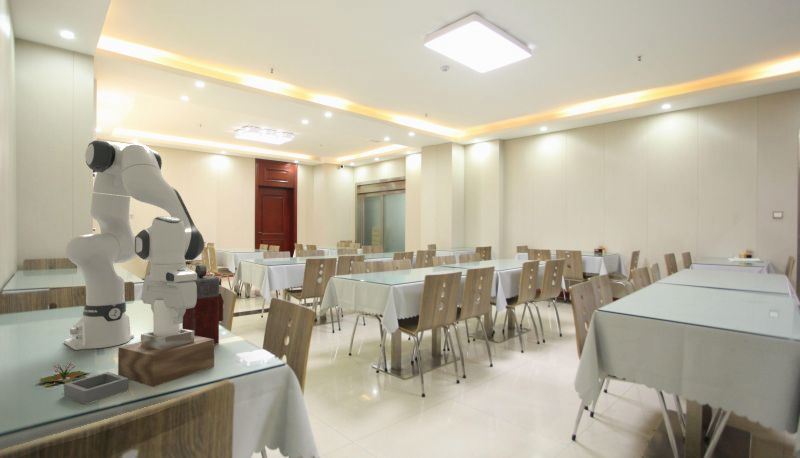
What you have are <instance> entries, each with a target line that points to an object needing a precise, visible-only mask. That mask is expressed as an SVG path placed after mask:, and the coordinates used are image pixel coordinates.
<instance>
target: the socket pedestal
mask: <svg viewBox="0 0 800 458" xmlns="http://www.w3.org/2000/svg"><path fill="white" fill-rule="evenodd" d="M117 349H118V350H117V352H118V353H117V358H118V359H117V362H118V363H117V375H120V376H123V377H126V378H129V381H132V382H135V383H140V384H143V385H144V386H149V387H152V388H153V387H156V386H159V385H162V384H166V383H169V382H172V381H174V380H178V379H180V378H183V377H187V376H190V375H193V374H196V373H198V372H202V371H204V370H208V369H210V368H213V367H215V344H214V339H210V338H205V337H199V336H194V331H192V330H186V329H182V328H181V327H180V333H179V334H175V335H171V336H166V337H159V336H154V331H150V332H145V333H144V332H143V333H141V334H140V341H139V342H135V343H134V342H133V343H131V344H126V345H121V346H118V348H117Z"/></svg>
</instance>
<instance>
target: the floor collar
mask: <svg viewBox="0 0 800 458" xmlns="http://www.w3.org/2000/svg"><path fill="white" fill-rule="evenodd" d="M86 377H87V376H86ZM129 381H130V380H129V378H126V377H123V376H120V375H118V374H116V373H113V372H109V371H106V372H102V373H99V374H96V375H92V376H91V375H90V376H88V377H87V378H84V379H76V380H72V381H71V382H69V383H63V397H65V398H67V399H69V400H73V401H74V402H76V403H79V404H82V405H87V404H90V403H93V402H96V400H97V401H99V400H103V399H106V398H109V397H113V396H114V395H118V394H121V393H125V392H127V390H128V391H129V390H130V389H129V383H130V382H129Z"/></svg>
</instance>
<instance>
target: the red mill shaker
mask: <svg viewBox="0 0 800 458" xmlns="http://www.w3.org/2000/svg"><path fill="white" fill-rule="evenodd" d="M195 266H196V267H195V271H194V272H196V273H197V280H193V281H194V282H195V283H196V286H197V301H196V305H195V306H194V308H189V309H186V312H185V314H184V316H183V322H182V323H181V324H182V328H181V329H186V330H192V331H194V336H199V337H205V338H210V339H214V345H218V344H219V343H220V342H219V341H220V322H223V321H224V299H223V297H222V296H223V295H222V293H220V279H219V278H218V277H214V276H210V275H209V276H207V273H208V270H207V269H208V268H207V266H206V265H205V264H197V265H195Z"/></svg>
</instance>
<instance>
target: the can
mask: <svg viewBox="0 0 800 458" xmlns="http://www.w3.org/2000/svg"><path fill="white" fill-rule="evenodd" d="M176 314H177V312H176V308H171V307H166V305H165V303H164V299H155V302H154V305H153V312H152V315H153V317H152V318H153V319H152V320H153V332H154V336H159V337H166V336H171V335H175V334H179V333H180V328H181V327H180V324H174V317H176Z"/></svg>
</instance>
